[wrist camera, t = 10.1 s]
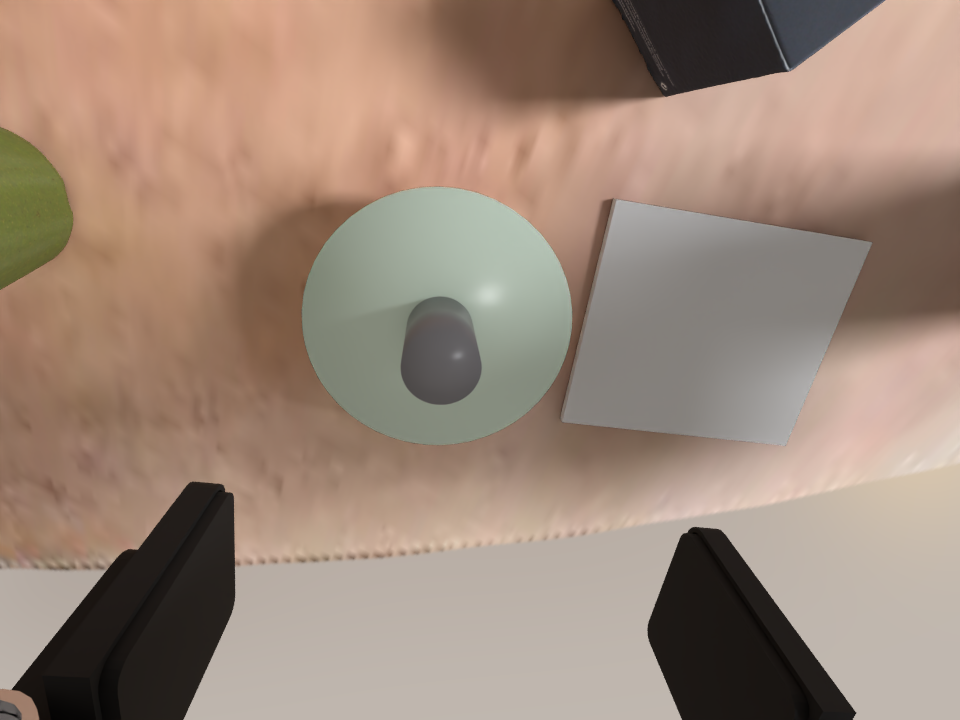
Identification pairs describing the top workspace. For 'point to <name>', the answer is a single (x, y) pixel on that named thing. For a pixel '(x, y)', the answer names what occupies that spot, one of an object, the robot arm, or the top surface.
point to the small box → (732, 36)
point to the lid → (436, 315)
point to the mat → (707, 324)
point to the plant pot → (29, 209)
